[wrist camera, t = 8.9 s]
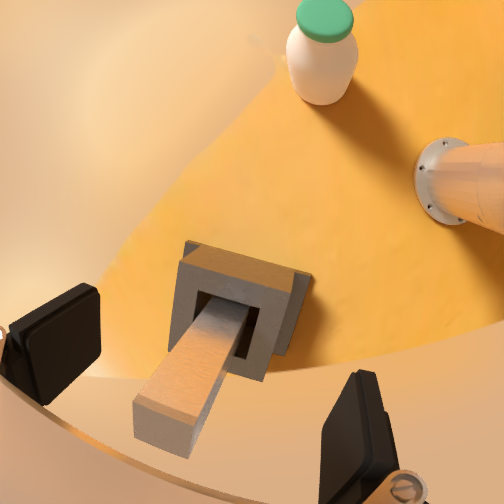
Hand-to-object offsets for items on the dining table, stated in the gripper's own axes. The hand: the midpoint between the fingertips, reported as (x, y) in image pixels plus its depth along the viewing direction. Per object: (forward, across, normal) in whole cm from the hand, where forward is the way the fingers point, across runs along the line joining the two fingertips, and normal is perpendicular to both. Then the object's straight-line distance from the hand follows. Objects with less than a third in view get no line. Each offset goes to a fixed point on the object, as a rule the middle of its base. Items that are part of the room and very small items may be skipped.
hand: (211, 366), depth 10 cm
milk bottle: (+34, 0, -20) cm, 40 cm away
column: (+28, +4, +14) cm, 32 cm away
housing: (+34, +4, +14) cm, 37 cm away
